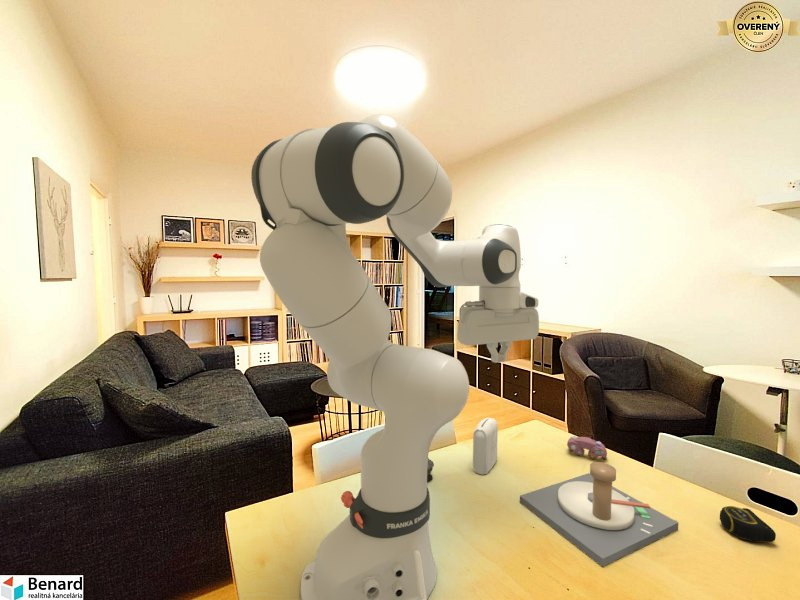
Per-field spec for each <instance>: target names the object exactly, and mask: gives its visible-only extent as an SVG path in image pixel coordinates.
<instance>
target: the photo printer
mask: <svg viewBox="0 0 800 600" xmlns="http://www.w3.org/2000/svg"><path fill="white" fill-rule="evenodd" d="M498 425H499V424H498V421H497V420H495V418H493V417H485V418H483V419H481V420H480V421H479V422H478V423H477V425H476V427H475V429H474V431H473V437H472V441H473V442H472V444H473V445H472V470H473V471H474V472H475V473H476V474H479V475H487V474H488V473H489V472H490V471H491V469H492V468H493V467H494V466H495V464H496V463H497V459H498V433H499V432H498V431H499V430H498V429H499V428H498V427H499V426H498Z"/></svg>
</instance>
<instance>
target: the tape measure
mask: <svg viewBox="0 0 800 600" xmlns="http://www.w3.org/2000/svg"><path fill="white" fill-rule="evenodd" d="M719 520H720V523H721V525H722V526H723V527H724V529H725V530H727V531H728V532H730V533H731V534H732V535H734V536H736V537H738V538H740V539H743V540H746V541H750V542H754V543H755V542H757V543H759V542H761V543H762V542H764V543H770V542H771V543H773V542H775V541H776V538H777V537H776V536H777V534H776V532H775V530H774V529H773V528H772V527H771V526H770V525H769V524H767V523H766V522H764V521H763V520H762V519H761V518H760V517H758V515H756V514H755V513H754V512H753V511H752V510H751V509H749V508H746V507H743V508H741V507H739V506H732V505H727V506H723V507H722V508H721V510H720V512H719Z"/></svg>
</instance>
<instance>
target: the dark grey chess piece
mask: <svg viewBox="0 0 800 600" xmlns="http://www.w3.org/2000/svg"><path fill="white" fill-rule="evenodd" d="M434 466H435V463H434V461H433V460H431V459H429V457H428V468H427V484H428V483H431V482H432V481H433V479H434V478H433V474H431V473H432V472H433V468H434Z"/></svg>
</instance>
